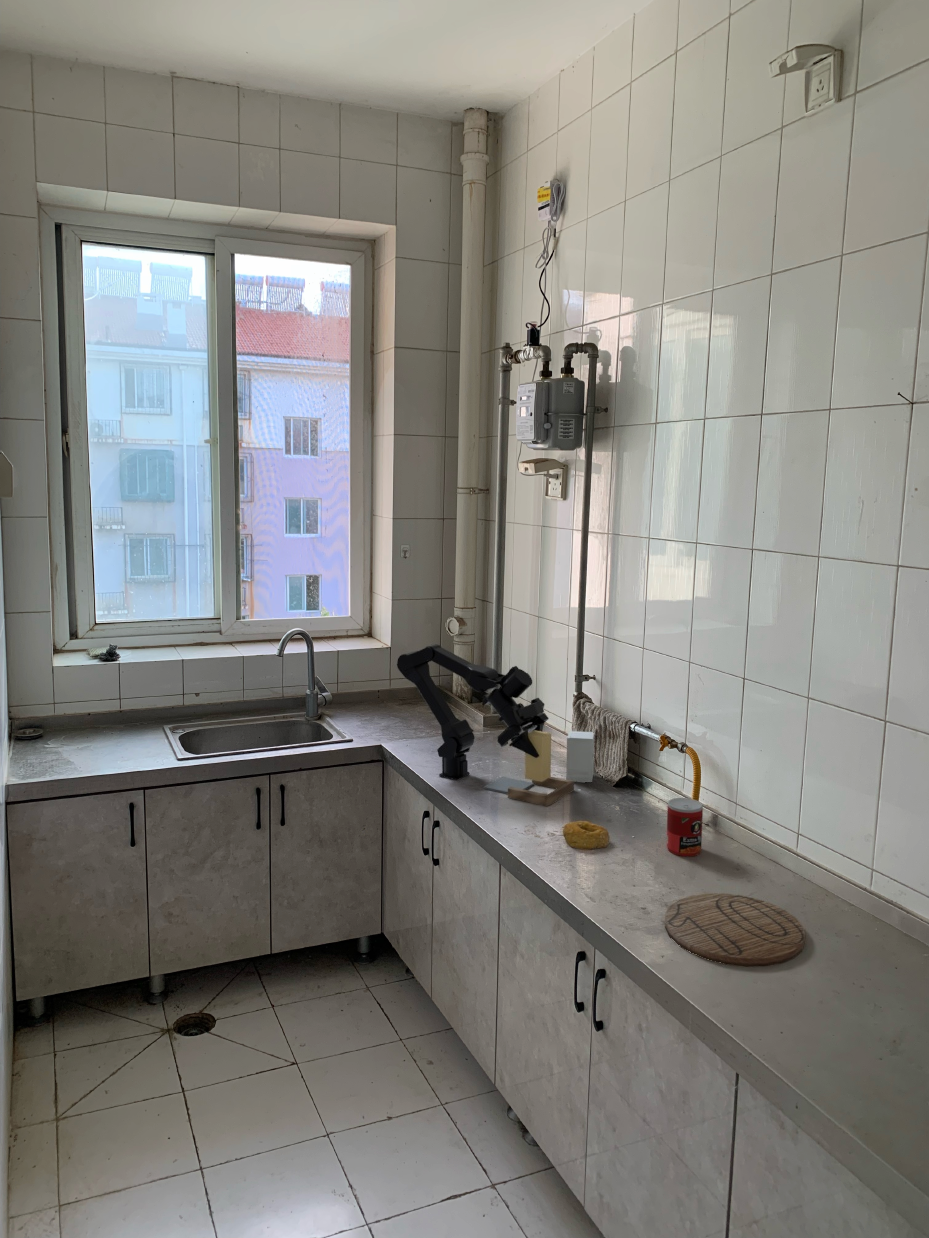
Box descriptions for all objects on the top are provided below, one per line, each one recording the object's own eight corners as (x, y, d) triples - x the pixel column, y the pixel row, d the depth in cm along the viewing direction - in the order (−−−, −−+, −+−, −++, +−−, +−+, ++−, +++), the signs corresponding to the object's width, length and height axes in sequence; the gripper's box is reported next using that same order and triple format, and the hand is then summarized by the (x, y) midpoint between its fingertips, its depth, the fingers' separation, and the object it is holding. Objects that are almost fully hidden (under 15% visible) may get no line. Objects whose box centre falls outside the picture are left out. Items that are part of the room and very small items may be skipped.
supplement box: (592, 783, 254) (593, 739, 252) (565, 781, 255) (566, 737, 253) (594, 774, 261) (594, 731, 259) (567, 773, 262) (568, 730, 260)
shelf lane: (507, 797, 243) (507, 788, 243) (534, 782, 255) (534, 773, 254) (548, 806, 236) (548, 796, 236) (573, 790, 248) (573, 781, 248)
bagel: (599, 855, 206) (600, 834, 206) (555, 845, 212) (555, 825, 211) (616, 840, 215) (616, 820, 214) (573, 832, 220) (573, 812, 220)
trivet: (723, 981, 156) (723, 970, 155) (638, 916, 178) (638, 907, 178) (835, 950, 165) (835, 940, 165) (741, 892, 188) (741, 884, 188)
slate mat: (483, 788, 250) (483, 786, 250) (502, 778, 258) (502, 776, 258) (515, 795, 244) (515, 793, 244) (534, 785, 252) (534, 782, 252)
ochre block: (525, 778, 245) (525, 734, 243) (534, 773, 249) (534, 730, 247) (541, 781, 242) (542, 737, 240) (550, 776, 246) (551, 733, 244)
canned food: (682, 859, 203) (683, 812, 202) (658, 846, 210) (660, 800, 209) (708, 853, 207) (710, 806, 205) (685, 840, 214) (686, 795, 212)
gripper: (507, 697, 236) (545, 745, 232) (542, 683, 252) (578, 728, 247) (481, 722, 242) (517, 770, 238) (517, 707, 257) (552, 752, 253)
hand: (542, 754), depth 244 cm, fingers closed on ochre block, 5 cm apart
